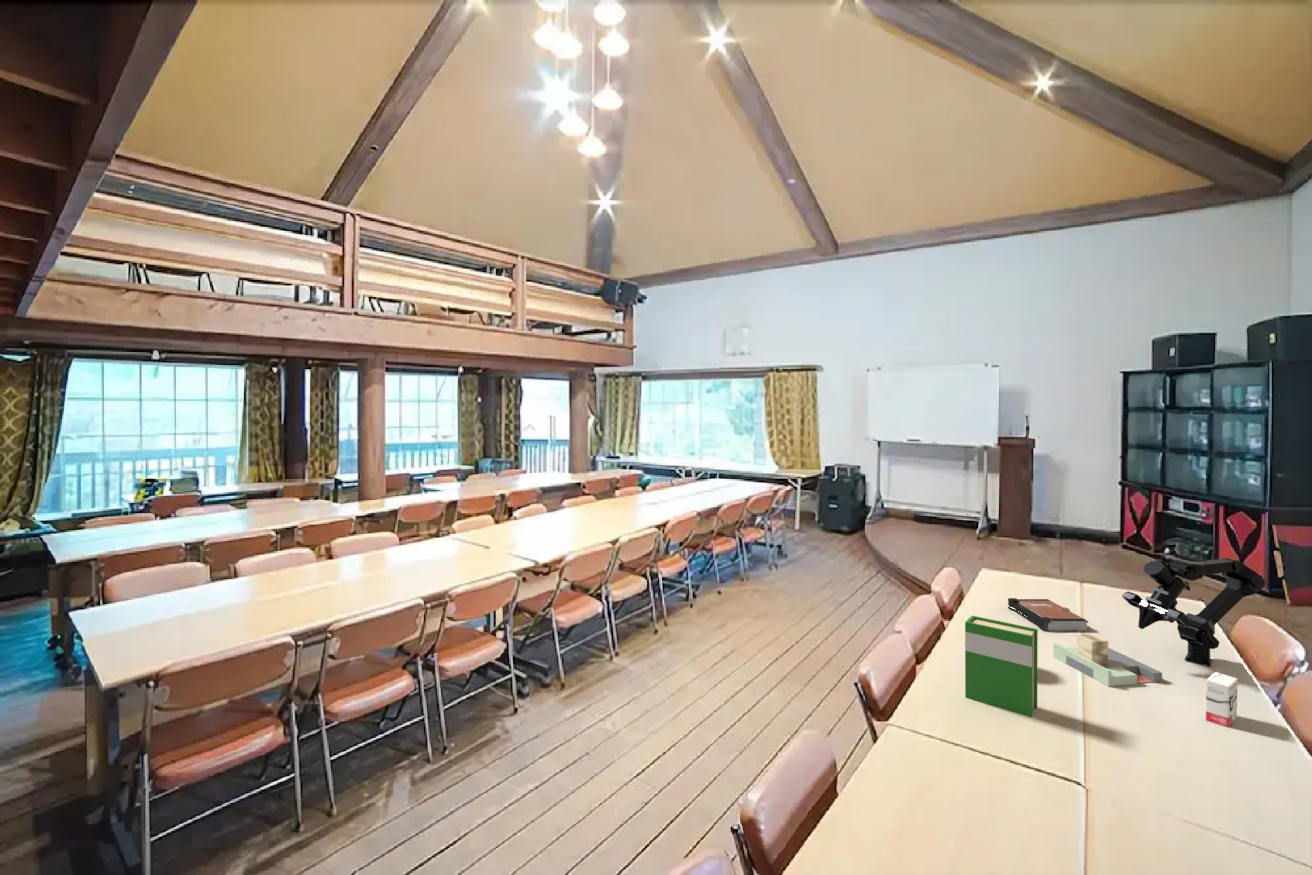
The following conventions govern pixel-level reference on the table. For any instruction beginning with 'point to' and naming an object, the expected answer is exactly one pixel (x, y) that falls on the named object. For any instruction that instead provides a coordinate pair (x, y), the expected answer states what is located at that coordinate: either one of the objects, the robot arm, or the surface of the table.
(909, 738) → the table surface
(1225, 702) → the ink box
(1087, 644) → the beech block
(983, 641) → the hardback book
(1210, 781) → the table surface
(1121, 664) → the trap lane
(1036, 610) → the book
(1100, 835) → the table surface
